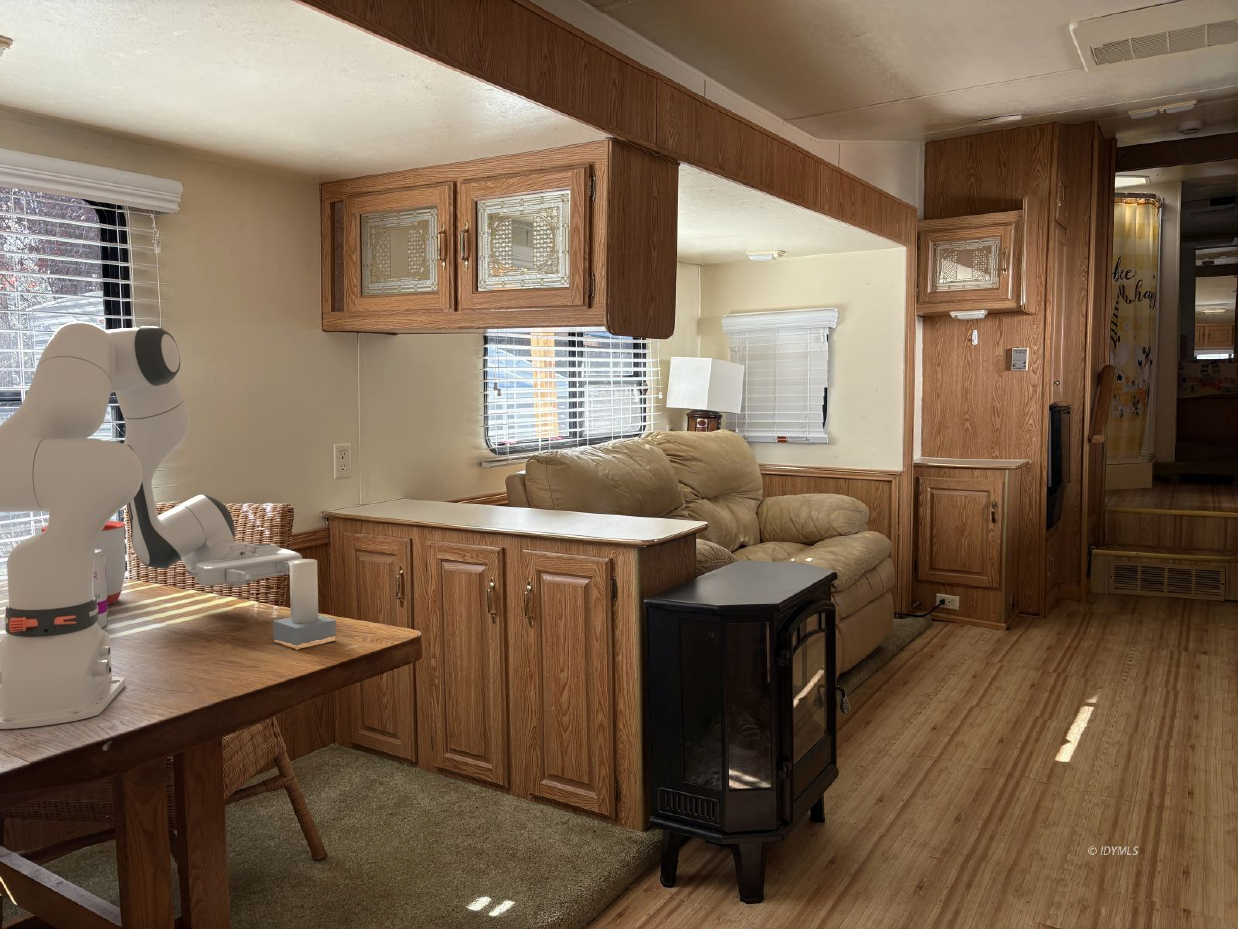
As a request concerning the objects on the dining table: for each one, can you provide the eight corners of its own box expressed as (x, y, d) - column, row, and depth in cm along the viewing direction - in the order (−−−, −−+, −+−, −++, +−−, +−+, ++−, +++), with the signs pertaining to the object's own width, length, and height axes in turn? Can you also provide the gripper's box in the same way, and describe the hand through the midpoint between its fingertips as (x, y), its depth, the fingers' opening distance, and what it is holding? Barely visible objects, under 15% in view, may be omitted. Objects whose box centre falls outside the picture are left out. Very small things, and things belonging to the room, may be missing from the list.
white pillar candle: (319, 622, 172) (318, 562, 171) (292, 624, 170) (290, 564, 169) (316, 616, 176) (315, 558, 175) (289, 618, 174) (288, 560, 173)
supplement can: (92, 621, 187) (89, 546, 185) (116, 626, 182) (114, 550, 181) (50, 630, 180) (47, 552, 178) (74, 636, 175) (71, 556, 174)
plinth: (336, 641, 174) (335, 620, 173) (296, 650, 168) (296, 628, 167) (312, 633, 179) (311, 613, 179) (273, 642, 173) (273, 620, 172)
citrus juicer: (21, 607, 197) (17, 513, 196) (105, 592, 212) (101, 505, 210) (58, 618, 189) (54, 519, 187) (143, 602, 203) (140, 510, 201)
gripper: (182, 555, 181) (217, 565, 172) (280, 542, 196) (316, 550, 188) (183, 587, 181) (218, 598, 173) (280, 572, 197) (317, 581, 188)
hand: (270, 573), depth 180 cm, fingers open, 8 cm apart
